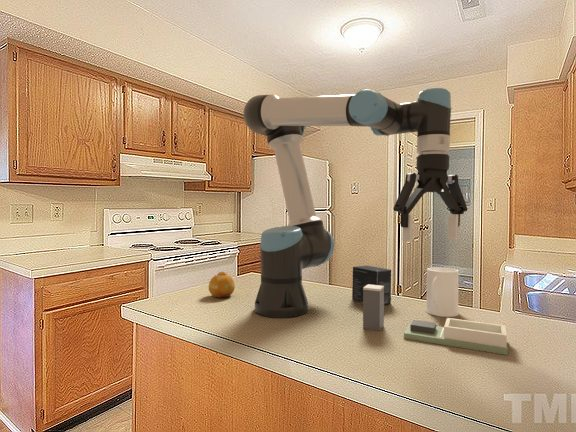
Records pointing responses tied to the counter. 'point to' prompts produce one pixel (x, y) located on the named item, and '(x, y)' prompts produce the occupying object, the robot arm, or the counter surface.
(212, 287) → the fruit
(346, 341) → the counter surface
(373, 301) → the plug
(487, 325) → the tray
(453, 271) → the white upright cylinder
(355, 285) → the box
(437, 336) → the board
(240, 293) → the counter surface
